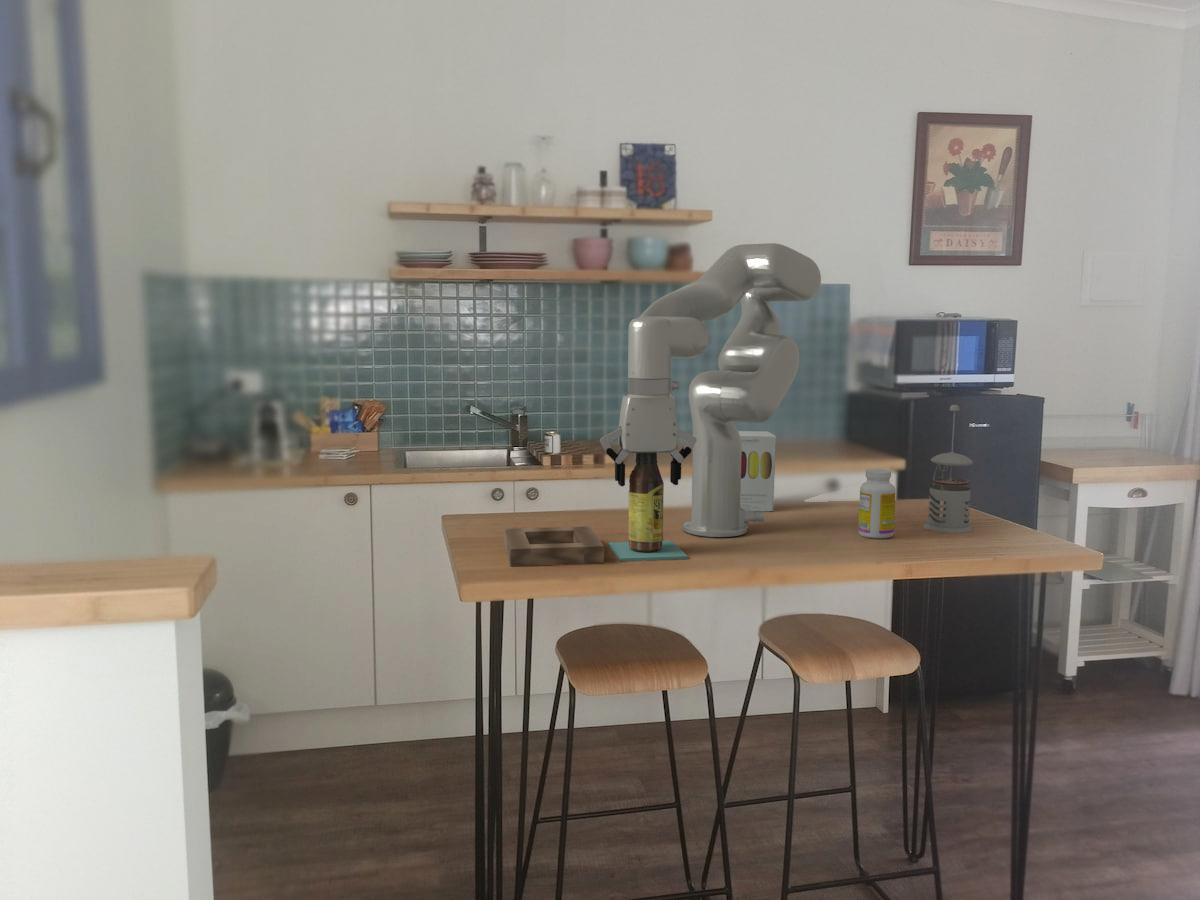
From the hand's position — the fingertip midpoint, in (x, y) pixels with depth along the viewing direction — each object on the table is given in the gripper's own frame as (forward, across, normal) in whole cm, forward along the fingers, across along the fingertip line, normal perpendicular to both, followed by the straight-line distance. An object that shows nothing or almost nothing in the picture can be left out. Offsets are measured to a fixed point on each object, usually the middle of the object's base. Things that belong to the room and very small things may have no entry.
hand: (647, 484), depth 175 cm
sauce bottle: (+12, 0, 0) cm, 12 cm away
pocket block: (+12, +17, -1) cm, 21 cm away
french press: (+13, -65, -13) cm, 67 cm away
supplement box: (+13, -31, -37) cm, 50 cm away
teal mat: (+12, 0, 0) cm, 12 cm away
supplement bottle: (+13, -47, -7) cm, 49 cm away
